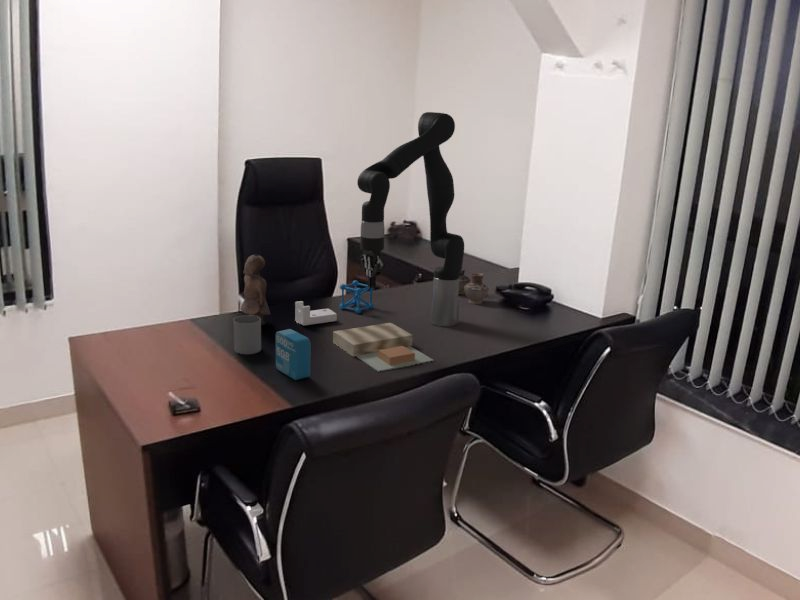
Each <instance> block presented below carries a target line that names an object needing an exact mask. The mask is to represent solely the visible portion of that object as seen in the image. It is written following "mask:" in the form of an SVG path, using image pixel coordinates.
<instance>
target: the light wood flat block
mask: <svg viewBox="0 0 800 600" xmlns="http://www.w3.org/2000/svg"><path fill="white" fill-rule="evenodd" d="M413 336H414V334H411V332H408V331H407V330H404V329H403V328H401V327H400V326H397V325H396V324H394V323H392V322H385V323H379V324H373V325H368V326H367V325H365V326H360V327H355V328H354V327H353V328H347V329H340V330H333V332H332V343H333V345H335V344H336V346H337V347H338V346H339V347H338V348H340V349H341V350H342V349H343V350H342V351H343V352H345V351H346V352H345V353H347V355H350V356H351V357H352V356H353V357H355V356H356V357H357V356H358V355H364V354H370V353H375V352H378V350H382V349H388V348H393V347H399V346H404V347H409V346H412V347H413V339H414V338H413Z"/></svg>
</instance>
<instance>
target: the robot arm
mask: <svg viewBox="0 0 800 600" xmlns="http://www.w3.org/2000/svg"><path fill="white" fill-rule="evenodd" d="M455 129H456V123H455V120H454V118H453V116H451V115H450V114H448V113H444V112H433V111H427V112H423V113H422V114H421V115H420V117H419V118H418V123H417V131H418V137H416V138H414V139H412V140H410V141H408V142H407V141H406V143H403V144H401V145H399V146H397V147H396V148H394V149H393V150H392V151H391V152H390V153H389V154H387V155H386V156H385V157H384V158H383V159H382V160H379V161H377V162H375V163H374V164H372V165H369V166H368V167H366V168H365V169H363V170H362V171H361V172H360V174H359V176H358V178H357V187H358V189H359V190H360V191H361V192H364V193H367V194H370V197H369V200H367V201H364V202H363V204H362V206H361V224H360V246H359V247H360V250H362V251H363V253H362V255H359V258H358V259H359V261H360V264H361V268H362V269H363V273H366V276H367V285H368V287H369V288H374V289H375V288H376V285H377V284H376V281H377V277H379V276H381V274H382V272H383V270H384V268H385V266H386V264H385V262H383V261H382V255H381V252H382V251H383V250H385V207H386V203H387V200H388V196H389V193H390V189H391V188H390V187H391V182H390V180H391V179H395V178H397V177H399V176H400V175H401V174H402V173H403V172H404V171H405V170H407V169H408V168H409V167H410V166H411V165H413V164H414V163H415V162H416V161H418V160H419V159H421V158H422V157H423V158H422V159H423V163H424V172H425V178H426V179H425V180H426V181H425V182H426V192H427V199H428V201H427V202H428V207H429V210H428V211H429V220H430V221H429V225H430V226H429V229H430V230H429V232H430V233H429V234H430V235H429V236H430V239H429V240H430V248H431V249H430V250H431V252H432V255H434V256H435V257H437V258H441V259H444V265H443V266H439V267H436V268H434V270H433V282H432V300H431V313H430V314H431V315H430V322H431V324H432V325H435V326H438V327H453V326H456V325H458V324H459V322H460V321H459V319H460V307H461V306H460V304H461V298H460V297H459V295H458V289H459V276H460V272H461V269H462V268H463V262H464V254H465V240H464V238H463V236H461V235H459V234H456V233H451V232H448V229H447V216H448V213H449V211H450V210H451V207H452V205H453V203H454V199H455V185H454V179H453V178H454V176H453V174H452V173H451V170H450V168H449V167H448V165H447V163H446V161H445V160H444V158H443V156H442V155H443V154H442V153H441V149H440V146H441V145H442V144H444V143H446V142H447V141H449V140H450V139H451V138H452V137H453V135H454V133H455Z"/></svg>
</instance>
